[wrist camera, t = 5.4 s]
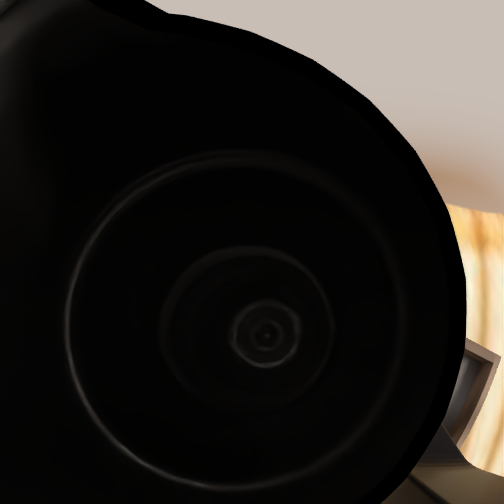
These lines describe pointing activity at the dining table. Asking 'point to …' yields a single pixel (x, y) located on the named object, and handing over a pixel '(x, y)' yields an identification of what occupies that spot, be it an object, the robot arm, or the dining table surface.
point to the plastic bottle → (210, 269)
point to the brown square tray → (470, 390)
